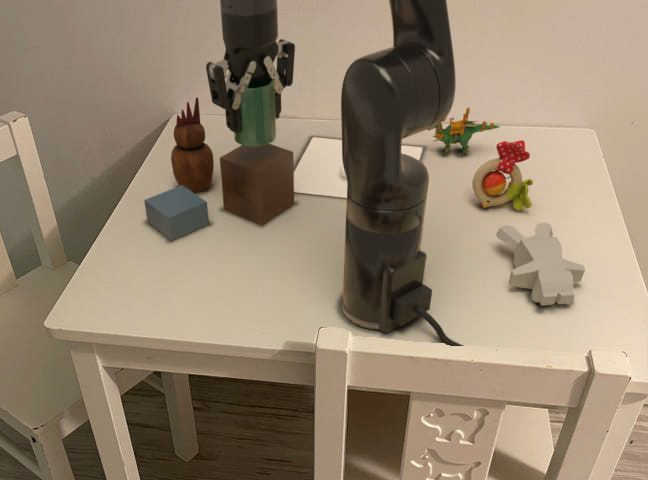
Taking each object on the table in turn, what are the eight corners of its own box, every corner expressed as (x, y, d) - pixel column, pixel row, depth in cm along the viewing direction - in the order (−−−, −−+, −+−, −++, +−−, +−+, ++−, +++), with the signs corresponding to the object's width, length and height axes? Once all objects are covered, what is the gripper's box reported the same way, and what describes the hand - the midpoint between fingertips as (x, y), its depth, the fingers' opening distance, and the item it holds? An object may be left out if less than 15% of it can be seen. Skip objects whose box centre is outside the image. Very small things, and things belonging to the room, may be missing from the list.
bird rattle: (487, 229, 113) (547, 206, 111) (467, 170, 107) (530, 144, 104) (478, 209, 118) (536, 186, 115) (459, 150, 111) (519, 125, 109)
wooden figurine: (217, 178, 125) (209, 91, 115) (213, 195, 121) (204, 107, 111) (178, 178, 126) (167, 92, 116) (172, 195, 122) (160, 107, 112)
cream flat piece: (335, 182, 122) (336, 160, 119) (345, 160, 128) (346, 138, 125) (388, 188, 120) (390, 165, 117) (396, 165, 125) (398, 143, 123)
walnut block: (294, 204, 118) (293, 151, 112) (262, 225, 113) (259, 172, 107) (256, 189, 122) (253, 138, 116) (223, 209, 118) (219, 157, 111)
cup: (285, 137, 109) (283, 80, 103) (251, 150, 106) (247, 93, 101) (259, 123, 113) (256, 68, 107) (225, 136, 110) (221, 80, 105)
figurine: (423, 149, 129) (428, 103, 124) (493, 148, 128) (502, 103, 123) (425, 157, 127) (430, 111, 122) (496, 156, 126) (505, 110, 121)
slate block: (209, 224, 114) (207, 201, 112) (171, 240, 111) (167, 217, 109) (184, 207, 119) (182, 184, 116) (147, 222, 116) (143, 199, 113)
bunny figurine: (525, 289, 92) (493, 214, 102) (516, 317, 96) (486, 243, 106) (600, 283, 92) (561, 209, 102) (588, 312, 96) (551, 238, 106)
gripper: (220, 23, 92) (230, 148, 103) (308, -3, 98) (308, 118, 109) (187, 10, 96) (200, 131, 108) (273, -15, 102) (277, 102, 114)
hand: (254, 124), depth 108 cm, fingers closed on cup, 6 cm apart
